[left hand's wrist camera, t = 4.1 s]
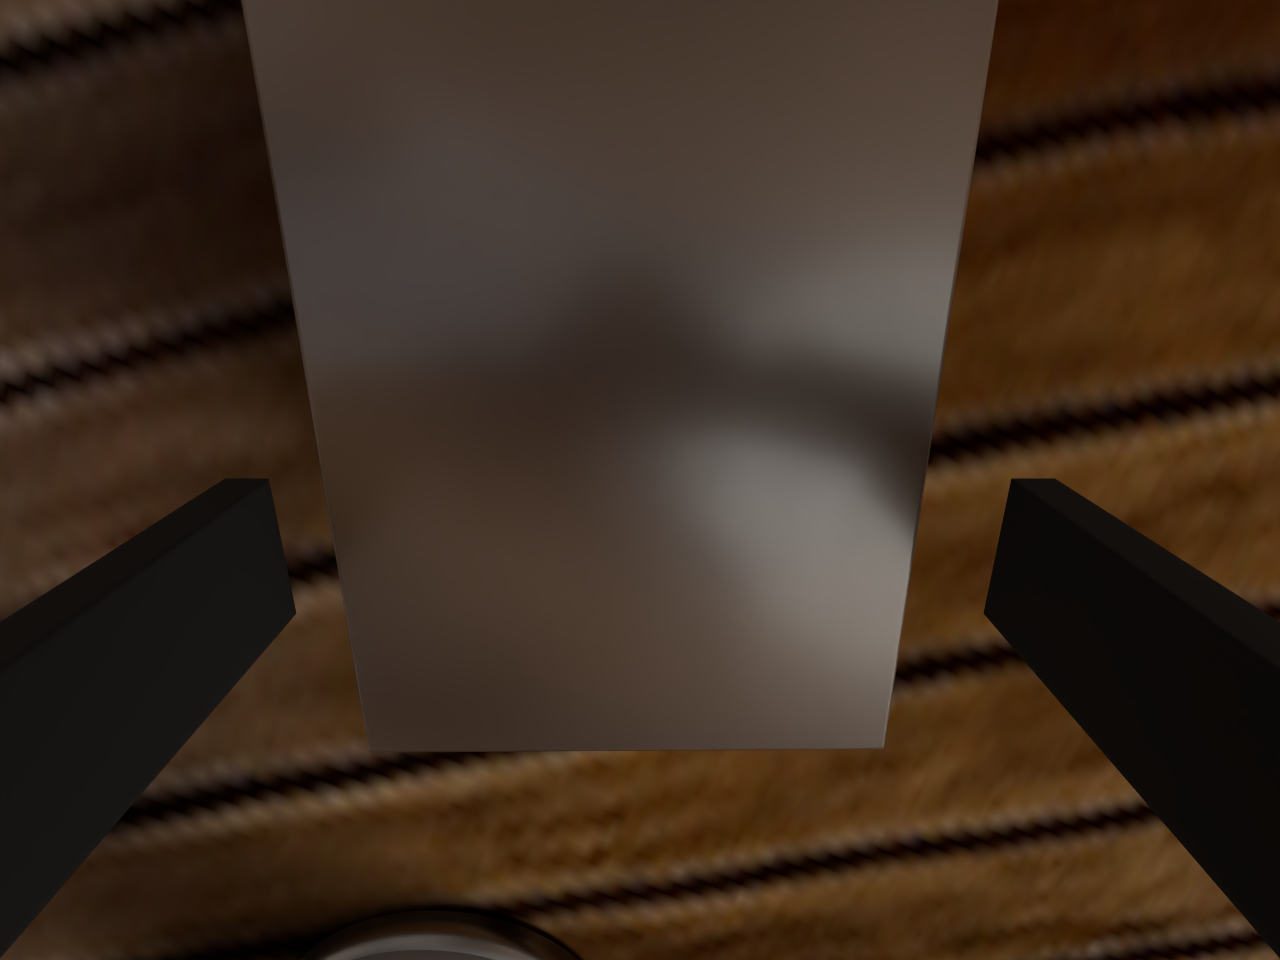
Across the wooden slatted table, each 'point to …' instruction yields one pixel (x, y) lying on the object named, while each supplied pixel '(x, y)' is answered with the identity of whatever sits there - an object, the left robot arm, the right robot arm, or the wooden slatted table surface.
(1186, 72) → the wooden slatted table surface
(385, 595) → the cabinet
